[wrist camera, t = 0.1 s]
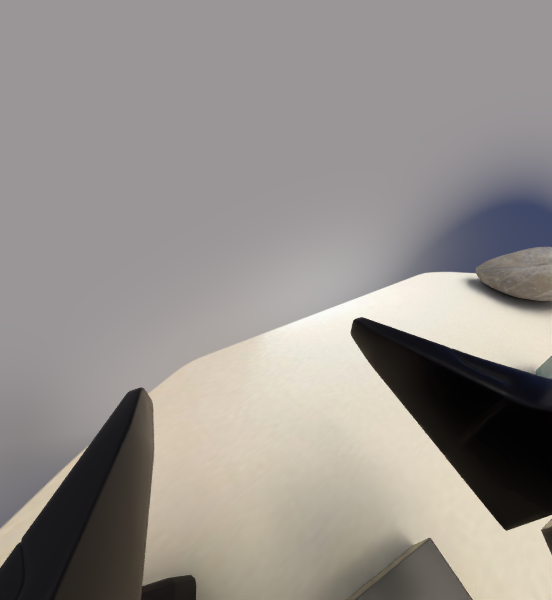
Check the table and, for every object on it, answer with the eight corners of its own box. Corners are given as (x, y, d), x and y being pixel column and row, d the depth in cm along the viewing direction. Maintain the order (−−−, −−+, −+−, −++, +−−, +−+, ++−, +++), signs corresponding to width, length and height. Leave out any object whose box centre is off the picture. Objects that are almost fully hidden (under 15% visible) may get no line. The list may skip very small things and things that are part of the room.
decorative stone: (556, 260, 43) (661, 232, 28) (550, 308, 42) (654, 305, 28) (467, 255, 48) (519, 230, 33) (461, 299, 47) (511, 292, 33)
